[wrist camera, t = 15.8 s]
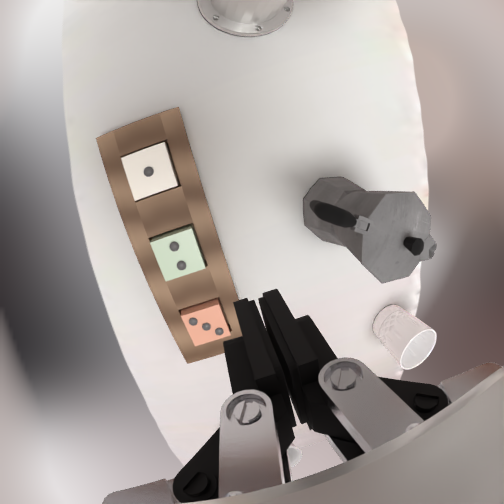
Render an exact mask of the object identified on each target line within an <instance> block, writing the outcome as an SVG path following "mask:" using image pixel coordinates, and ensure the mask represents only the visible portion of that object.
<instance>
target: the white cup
mask: <svg viewBox="0 0 504 504" xmlns="http://www.w3.org/2000/svg"><path fill="white" fill-rule="evenodd" d="M373 332H374V333H375V334H376V335H377V337H378V338H379V339H380V340H381V343H382V344H383V345H384V346H385V348H386V349H387V350H388V351H389V352H390V354H391V355H392V356H393V357H394V359H395V360H396V361H397V362H398V363H399V365H400V366H401V367H402V368H403V369H412V368H414V367H416V366H418V365H419V364H420V363H422V362H423V361H424V360H425V359H426V358H427V357H428V355H429V354H430V353H431V351H432V349H433V348H434V345H435V342H436V332H435V331H434V330H433V329H432V328H430V327H429V326H427V325H426V324H425V323H423V322H422V321H420V320H419V319H418V318H416V317H415V316H413V315H412V314H410V313H409V312H407V311H405V310H404V309H402V308H401V307H400V306H397V305H390V306H387V307H385V308H384V309H383V310H381V311H380V312H379V314H378V315H377V317H376V318H375V321H374V324H373Z"/></svg>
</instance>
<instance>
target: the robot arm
mask: <svg viewBox="0 0 504 504" xmlns="http://www.w3.org/2000/svg"><path fill="white" fill-rule="evenodd" d="M198 6H199V10H200V12H201V14H202V15H203V17H204V18H205V19H206V20H207V21H208V22H209V23H210V24H212V25H213V26H214V27H216V28H218V29H220V30H222V31H224V32H227V33H230V34H233V35H239V36H261V35H265V34H269V33H271V32H273V31H275V30H277V29H279V28H280V27H281V26H283V25H284V23H285V22H286V21H287V20H288V19H289V17H290V16H291V13H292V11H293V0H198ZM214 19H216V20H214ZM256 30H258V31H256ZM258 300H259V304H260V308H261V311H262V315H263V319H264V323H265V326H264V323H263V321H262V318H261V316H260V313H259V311H258V309H257V306H256V304H255V301H254V300H252V301H248V299H247V298H245V299H242V300H238V301H235V302H233V304H234V308H235V311H236V315H237V318H238V322H239V326H240V329H241V333H242V336H240V337H237V338H233V339H230V340H226V341H223V346H224V352H225V357H226V362H227V367H228V372H229V377H230V382H231V387H232V392H233V395H231V396H230V397H229V398H228V399H227V400H226V401H225V402H224V404H223V405H222V408H221V412H220V427H219V429H218V430H217V431H216V432H215V433H214V434H213V435H212V437H211V438H210V439H209V440H208V441H207V442H206V443H205V444H204V446H203V447H202V448H201V449H200V450H199V451H198V452H197V453H196V454H195V456H194V457H193V458H192V459H191V460H190V461H189V462H188V463H187V464H186V465H185V466H184V467H183V468H182V469H181V471H180V472H179V473H178V474H177V475H176V477H175V478H174V479H171V480H168V481H167V480H166V479H162V480H158V481H155V482H152V483H148V484H144V485H141V486H137V487H133V488H129V489H125V490H121V491H116V492H113V493H111V494H109V495H108V496H107V497H106V498H105V499H104V501H103V503H102V504H504V366H503V367H501V366H500V365H498V364H496V363H489V362H488V363H484V364H482V365H480V366H477V367H475V368H473V369H471V370H468V371H466V372H464V373H461V374H459V375H456V376H454V377H451V378H449V379H446V380H444V381H441V384H440V385H438V386H435V385H431V384H424V383H416V382H408V381H401V380H395V379H388V378H382V377H377V376H376V375H375V374H374V373H373V372H372V371H371V370H370V369H369V368H368V367H367V366H366V365H365V364H364V363H362V362H361V361H359V360H357V359H353V358H339V359H338V358H337V357H336V355H335V354H334V352H333V351H332V349H331V348H330V346H329V345H328V343H327V342H326V340H325V339H324V337H323V336H322V334H321V333H320V331H319V330H318V328H317V327H316V325H315V324H314V322H313V321H312V319H311V318H310V316H309V315H306V316H303V317H300V318H297V319H295V318H294V317H293V315H292V313H291V312H290V310H289V308H288V306H287V305H286V303H285V301H284V300H283V298H282V296H281V294H280V293H279V291H278V289H274V290H271V291H268V292H265V293H263V297H262V298H258ZM265 327H266V328H265ZM266 330H267V331H266ZM289 396H290V397H289ZM290 398H291V401H292V403H293V406H294V408H295V411H296V413H297V415H298V418H299V420H300V423H301V424H304V423H306V422H307V424H308V426H309V429H310V430H311V429H313V430H314V431H315V432H318V433H322V434H324V435H325V437H326V439H327V441H328V442H329V443H330V445H331V446H332V447H333V449H334V450H335V452H336V453H337V454H338V456H339V457H340V458H341V460H342V461H343V463H342V464H340V465H337V466H334V467H332V468H329V469H327V470H324V471H321V472H319V473H316V474H313V475H310V476H307V477H305V478H301V479H298V480H295V481H293V480H292V473H291V467H290V460H289V453H288V450H287V449H288V448H289V446H290V445H291V443H292V442H293V440H294V438H295V436H294V433H293V429H292V427H295V426H297V425H296V421H295V417H294V413H293V409H292V405H291V401H290Z"/></svg>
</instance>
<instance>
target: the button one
mask: <svg viewBox="0 0 504 504" xmlns="http://www.w3.org/2000/svg"><path fill="white" fill-rule="evenodd" d="M121 160H122V163H123V166H124V169H125V173H126V176H127V179H128V182H129V185H130V188H131V191H132V194H133V197H134V200H135V201H136V200H139V199H141V198H144V197H147V196H150V195H152V194H155V193H158V192H161V191H163V190H166V189H169V188H172V187H175V186H178V184H179V182H178V179H177V175H176V172H175V169H174V166H173V162H172V159H171V156H170V153H169V149H168V146H167V143H165V142H163V143H160V144H157V145H154V146H151V147H149V148H146V149H143V150H141V151H138V152H135V153H133V154H130V155H128V156H125V157H123V158H121Z"/></svg>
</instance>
